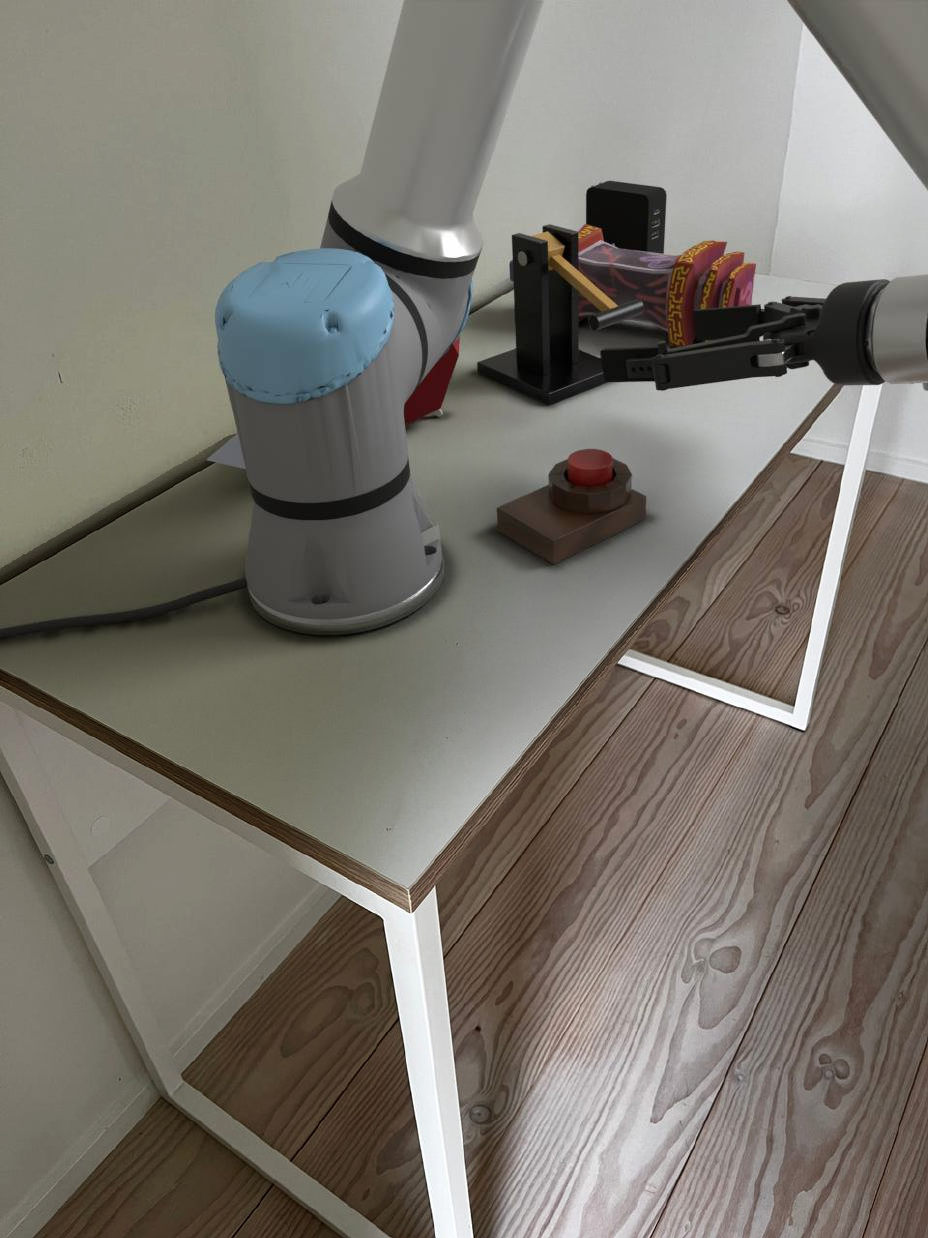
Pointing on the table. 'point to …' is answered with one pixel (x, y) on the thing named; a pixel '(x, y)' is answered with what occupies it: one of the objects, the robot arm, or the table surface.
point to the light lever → (589, 288)
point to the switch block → (572, 513)
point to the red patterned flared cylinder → (664, 281)
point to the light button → (590, 467)
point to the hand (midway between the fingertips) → (652, 344)
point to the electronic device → (628, 215)
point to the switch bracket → (545, 326)
